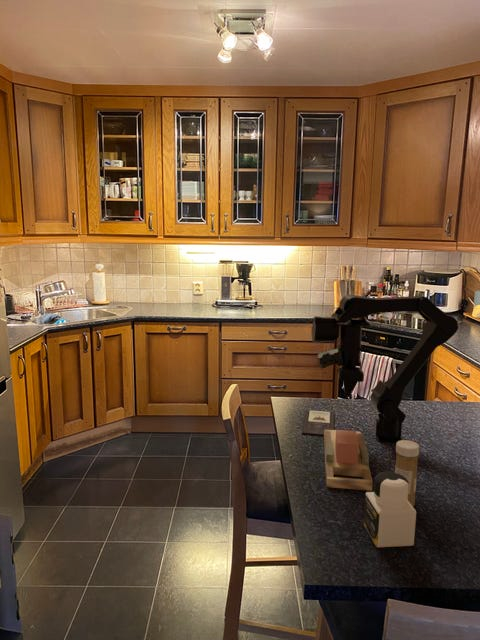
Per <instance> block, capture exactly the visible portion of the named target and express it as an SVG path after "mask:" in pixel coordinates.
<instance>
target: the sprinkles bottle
mask: <svg viewBox="0 0 480 640" xmlns="http://www.w3.org/2000/svg"><path fill="white" fill-rule="evenodd" d="M395 443H396V444H395V454H396V458H395V466H394V473H398V474H400V475H402V476H404V477H405V478H406V479H407V480H408V482H409V487H408V501H409V503H410V504H411V505H412V506H413V507H414V506H415V505H416V501H415V500H416V490H417V476H418V475H417V474H418V473H417V472H418V470H417V469H418V459H419V458H418V457H419V454H420V445H419V444H418V443H417V442H415V441H412V440H408V439H402V440H401V441H398V442H395Z"/></svg>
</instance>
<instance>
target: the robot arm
mask: <svg viewBox="0 0 480 640" xmlns="http://www.w3.org/2000/svg"><path fill="white" fill-rule="evenodd" d="M403 312H404V313H406V312H417V313H418V314H419V315H420V317H421V318H422V319H423V320H425V324H424V326H423V329H422V333H421V336H420V339H419V340H418V341H417V343H416V344H415V345H414V347H412V349H411V351H410V352H409V353H408V354H407V356H406V357H405V358H404V360H403V361H402V363H401V364H400V365H399V366H398V368H397V369H396V370H395V372H394V373H393V374H392V375H391V377H390V378H389V379H388V380H386V381H384V382H383V381H382V380H381V379H379V380H378V382H377V383H376V385H375V387H373V388H372V389H371V390H370V391H371V394H370V397H369V398H370V403H371V404H372V406H373V407H374V408H375V410H377V412H378V413H377V417H376V419H375V420H374V435H375V436H376V439H377V441H378V442H388V443H389V442H390V443H397V442H398V441H401V440H403V439H402V430H403V423H404V422H405V420H406V416H407V415H406V414H405V412H404V411H402V410H401V408H399V407H400V405H401V403H402V400H403V396H404V392H405V390H406V388H407V387H408V385H409V384H410V383H411V381H412V380H413V379H414V377H415V376H416V375H417V374H418V372H419V371H420V370H421V369H422V367H423V366H424V365H425V363H426V362H427V360H428V359H429V358H430V357H431V356H432V354H433V353H434V351H435V350H436V349H437V348H438V347H440V346H442V345H444V344H445V343H447V342H449V340H450V339H451V338H452V337H453V336H454V335H456V333H457V332H458V329H459V324H458V320H457V319H456V318H455V317H454V316H452V315H449V314H446V313H445V312H444V311H443V310H441V308H439V307H438V306H437V305H435V304H434V303H433V302H432V301H431V299H430V298H429V297H427V296H424V295H420V294H418V295H417V294H416V295H413V296H408V295H407V296H392V297H391V296H389V297H370V296H369V297H368V296H365V295H357V294H346V295H344V296H343V297H342V298H341V299H340V301H339V305H338V307H337V308H336V309H335V311H334V312H333V313H332V315H331V316H319V315H318V316H317V315H315V316H313V322H312V327H311V341H312V342H314V343H315V342H316V343H317V342H319V343H320V342H321V343H322V342H324V343H328V342H329V343H331V342H332V343H334V342H335V341H337V340H338V338H339V342H338V343H337V348H335V349H330V350H326V351H323V352H320V353H318V354H317V360H318V363H319V365H320V368H321V369H325V368H327V367H330V366H334V365H337V366H338V367H339V368H337V369H336V370H337V371H336V372H337V376H338V381H341V382H343V390H344V394H345V398H350V397H351V395H352V393H353V392H354V390H355V388H356V385H358V383H362V382H364V379H365V378H364V377H365V374H364V371H363V370H362V369H361V365H362V362H361V353H362V349H363V348H362V332H363V331H362V330H363V327H370V326H371V324H370V323H369V322H368V320H366V317H369V316H372V315H374V314H379V313H380V314H382V313H403Z"/></svg>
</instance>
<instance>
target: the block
mask: <svg viewBox="0 0 480 640" xmlns="http://www.w3.org/2000/svg"><path fill="white" fill-rule="evenodd" d="M335 430H336V443H335V451H336V462H337V463H350V464H358V451H359V443H358V438H357V433H356V432H357V431H356V430H344V429H335Z"/></svg>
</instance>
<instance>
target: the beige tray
mask: <svg viewBox="0 0 480 640" xmlns="http://www.w3.org/2000/svg"><path fill="white" fill-rule="evenodd" d="M336 430H337V429H334V430H325V429H324V436H323V447H324V459H325V460H324V462H325V464H324V465H325V480H326V481H325V482H326V488H333V489H334V488H336V489H346V490H347V489H348V490H358V491H359V490H360V491H368V492H373V487H374V485H373V483H374V482H373V478H372V474H371V470H370V465H369V463H370V456H369V452H368V448H367V444H366V441H365V437H364V433H361V431H356V433H357V438H358V443H359V451H358V464H350V463H337V462H336V451H335V443H336ZM334 475H335V477H334ZM338 476H347V477H338ZM350 477H360V478H350ZM361 478H362V479H361Z"/></svg>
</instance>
